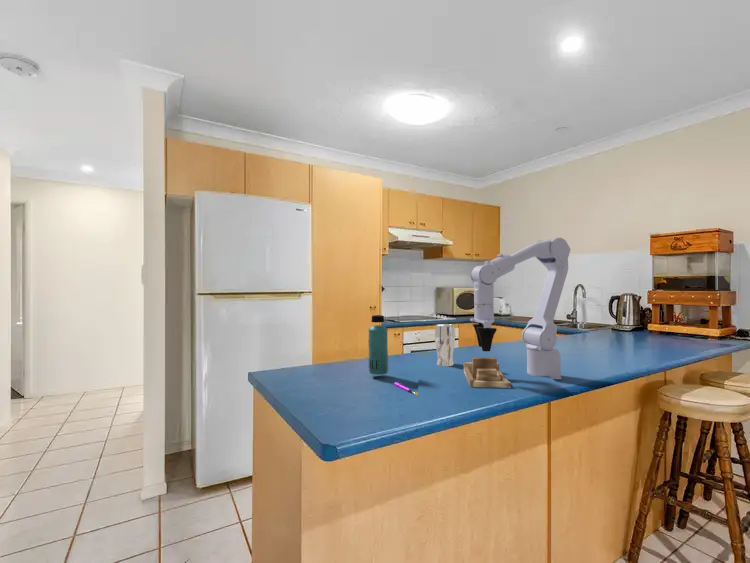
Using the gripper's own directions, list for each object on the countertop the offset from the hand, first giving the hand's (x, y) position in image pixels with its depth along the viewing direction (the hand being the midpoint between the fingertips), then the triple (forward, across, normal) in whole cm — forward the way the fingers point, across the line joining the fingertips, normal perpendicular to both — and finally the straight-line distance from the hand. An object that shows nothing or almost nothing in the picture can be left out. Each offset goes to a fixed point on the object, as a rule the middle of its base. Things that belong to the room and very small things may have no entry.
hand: (484, 348), depth 117 cm
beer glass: (+10, -18, -11) cm, 24 cm away
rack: (+10, +1, 0) cm, 10 cm away
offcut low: (+9, +7, 0) cm, 11 cm away
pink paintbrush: (+11, +13, -22) cm, 27 cm away
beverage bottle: (+10, -2, -33) cm, 35 cm away
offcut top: (+6, +7, 0) cm, 10 cm away
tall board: (+9, 0, 0) cm, 9 cm away
